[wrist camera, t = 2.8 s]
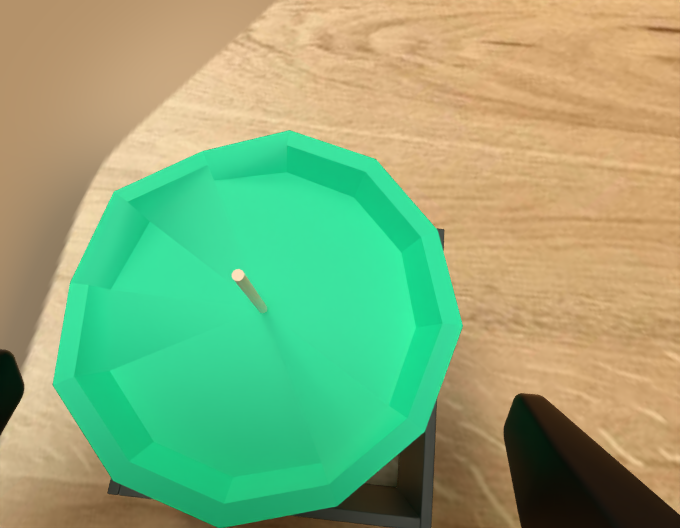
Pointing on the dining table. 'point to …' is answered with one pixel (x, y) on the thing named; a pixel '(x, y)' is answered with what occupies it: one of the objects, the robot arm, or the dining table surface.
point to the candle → (257, 329)
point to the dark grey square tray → (379, 488)
